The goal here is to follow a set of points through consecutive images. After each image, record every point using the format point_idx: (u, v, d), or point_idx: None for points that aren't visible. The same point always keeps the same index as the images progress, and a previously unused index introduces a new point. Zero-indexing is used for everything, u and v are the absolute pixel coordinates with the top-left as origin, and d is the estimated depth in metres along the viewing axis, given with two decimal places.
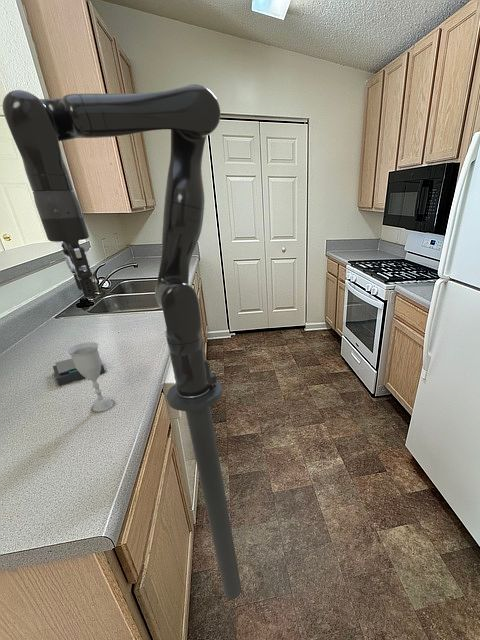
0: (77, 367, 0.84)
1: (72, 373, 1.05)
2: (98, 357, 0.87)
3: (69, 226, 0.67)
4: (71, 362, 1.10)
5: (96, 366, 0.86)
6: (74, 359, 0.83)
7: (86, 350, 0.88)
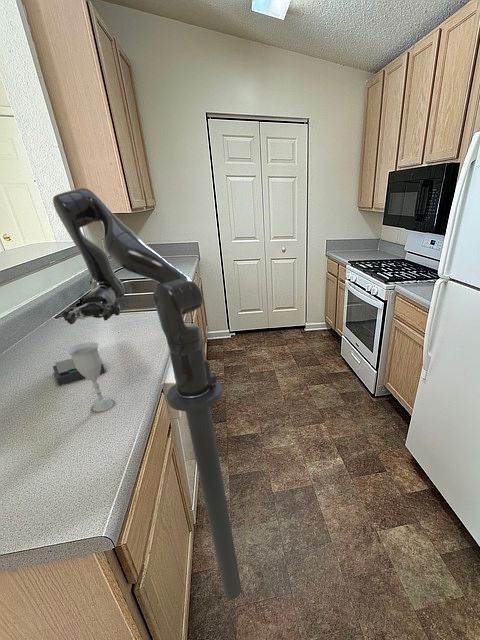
0: (77, 367, 0.84)
1: (72, 373, 1.05)
2: (98, 357, 0.87)
3: None
4: (71, 362, 1.10)
5: (96, 366, 0.86)
6: (74, 359, 0.83)
7: (86, 350, 0.88)
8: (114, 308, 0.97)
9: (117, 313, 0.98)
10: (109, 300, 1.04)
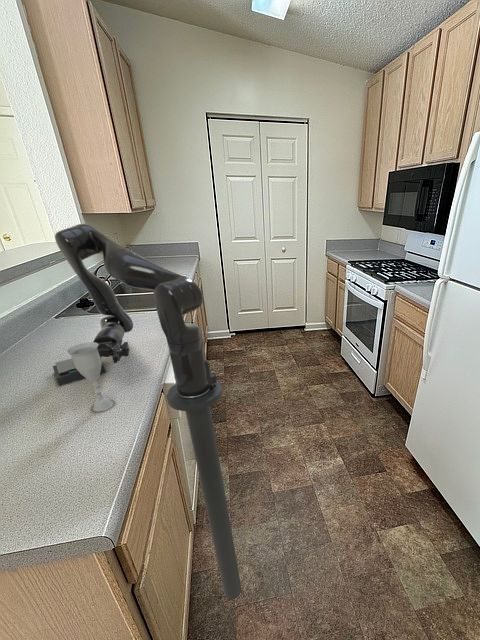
0: (77, 367, 0.84)
1: (72, 373, 1.05)
2: (98, 357, 0.87)
3: None
4: (71, 362, 1.10)
5: (96, 366, 0.86)
6: (74, 359, 0.83)
7: (86, 350, 0.88)
8: (123, 350, 1.00)
9: (126, 354, 1.01)
10: (118, 339, 1.07)
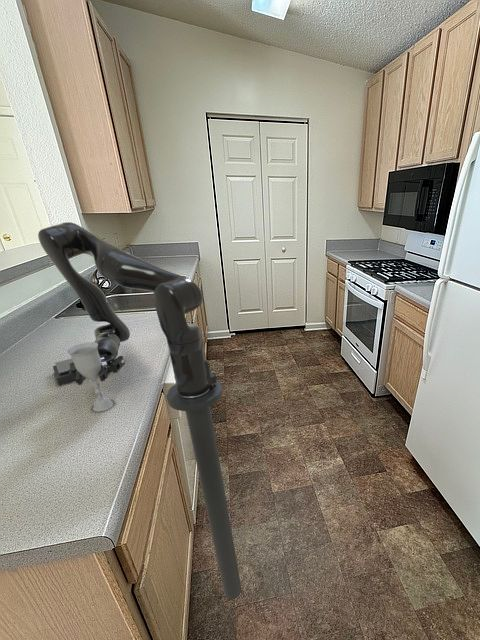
0: (77, 367, 0.84)
1: None
2: (98, 357, 0.86)
3: None
4: (71, 362, 1.10)
5: (96, 366, 0.86)
6: (74, 359, 0.83)
7: (86, 350, 0.88)
8: (111, 366, 0.91)
9: (114, 371, 0.92)
10: (113, 351, 0.99)
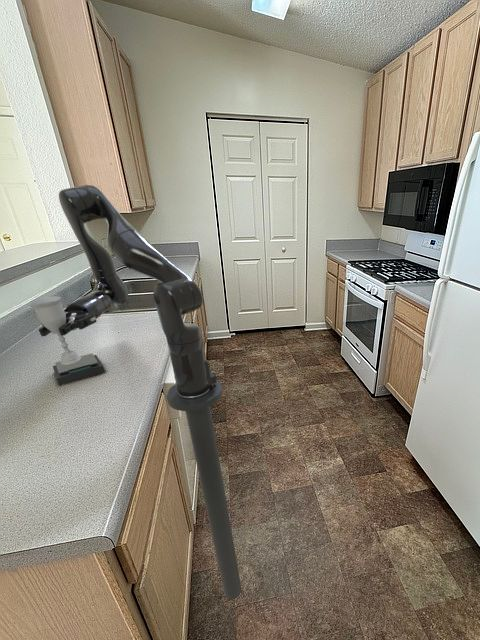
0: (39, 319, 0.87)
1: (72, 373, 1.05)
2: (59, 311, 0.88)
3: None
4: None
5: (57, 320, 0.88)
6: (35, 311, 0.86)
7: None
8: (76, 322, 0.92)
9: (80, 327, 0.93)
10: (92, 309, 1.01)
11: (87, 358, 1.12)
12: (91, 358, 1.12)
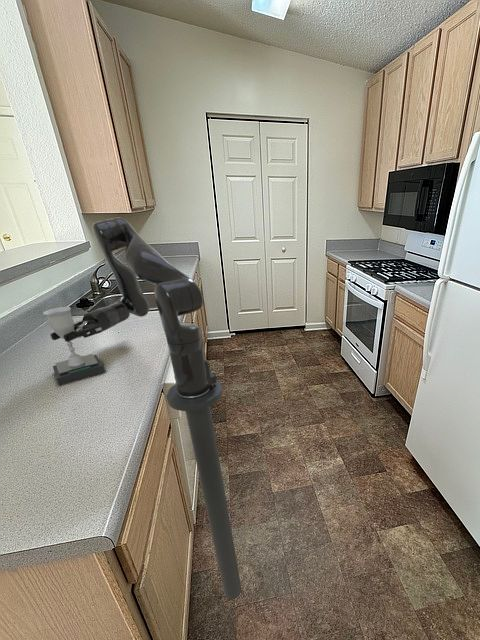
0: (50, 325, 1.02)
1: (72, 373, 1.05)
2: (66, 321, 1.02)
3: None
4: None
5: (63, 328, 1.02)
6: None
7: None
8: (81, 331, 1.05)
9: (84, 336, 1.06)
10: (104, 319, 1.14)
11: (87, 358, 1.12)
12: (91, 358, 1.12)
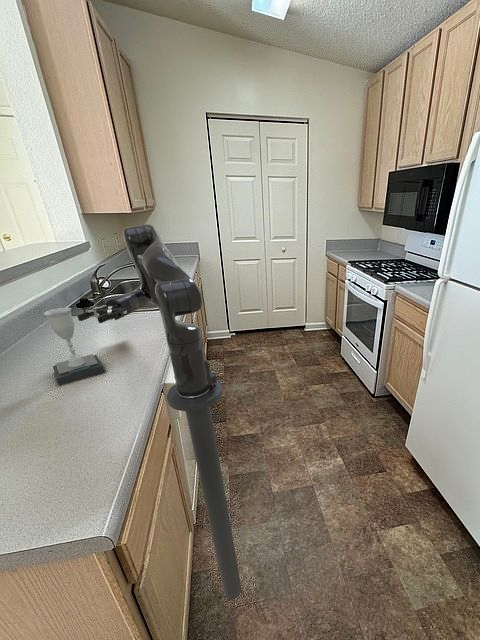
0: None
1: (72, 373, 1.05)
2: (67, 321, 1.02)
3: None
4: None
5: (64, 329, 1.02)
6: None
7: None
8: (113, 313, 1.14)
9: (115, 318, 1.15)
10: (126, 305, 1.23)
11: (88, 359, 1.12)
12: (91, 359, 1.12)
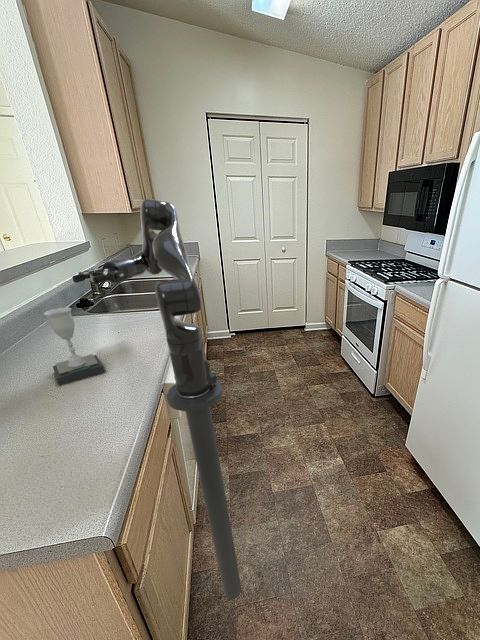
0: None
1: (72, 373, 1.05)
2: (67, 321, 1.02)
3: None
4: None
5: (64, 329, 1.02)
6: None
7: None
8: (109, 275, 1.11)
9: (111, 280, 1.11)
10: (123, 269, 1.19)
11: (88, 359, 1.12)
12: (91, 359, 1.12)
